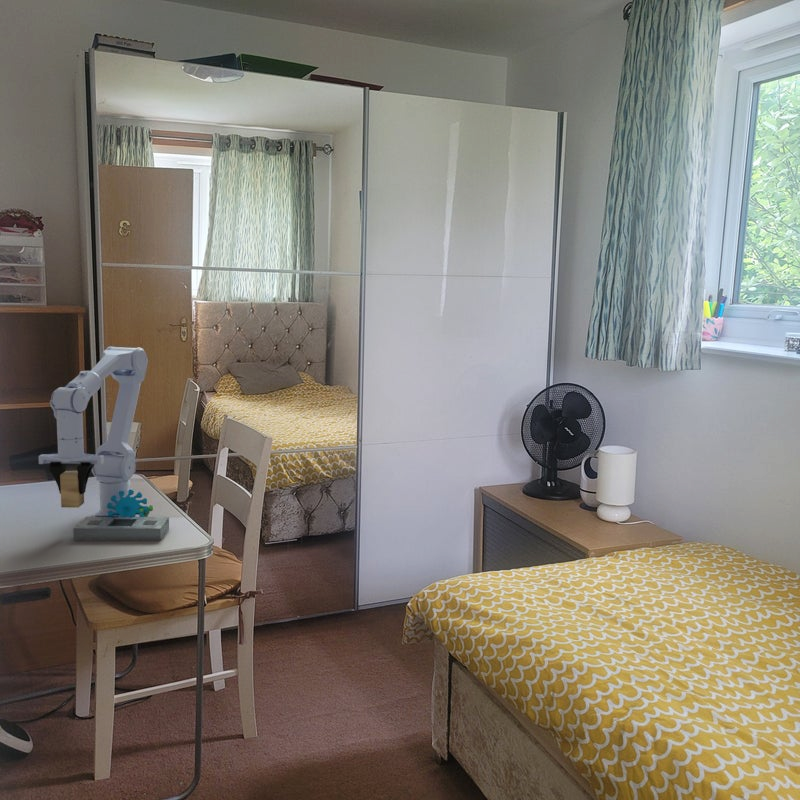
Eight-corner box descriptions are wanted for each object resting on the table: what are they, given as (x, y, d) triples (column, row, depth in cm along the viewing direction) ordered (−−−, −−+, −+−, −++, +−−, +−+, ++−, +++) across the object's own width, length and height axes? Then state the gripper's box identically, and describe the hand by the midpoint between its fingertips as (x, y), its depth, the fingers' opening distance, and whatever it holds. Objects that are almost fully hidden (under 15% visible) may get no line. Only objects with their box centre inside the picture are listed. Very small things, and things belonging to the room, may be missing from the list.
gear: (102, 521, 190) (111, 486, 196) (103, 531, 194) (112, 497, 200) (148, 525, 192) (155, 490, 198) (149, 536, 197) (155, 501, 203)
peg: (67, 502, 186) (66, 470, 185) (84, 502, 187) (83, 470, 185) (61, 507, 182) (60, 474, 181) (78, 507, 183) (77, 474, 182)
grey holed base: (86, 528, 189) (85, 516, 188) (169, 528, 190) (168, 516, 190) (73, 540, 180) (73, 527, 179) (160, 540, 181) (160, 528, 181)
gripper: (32, 440, 178) (34, 497, 180) (96, 441, 179) (98, 497, 181) (44, 434, 185) (46, 489, 187) (105, 435, 186) (107, 489, 188)
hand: (72, 492), depth 184 cm, fingers closed on peg, 4 cm apart
